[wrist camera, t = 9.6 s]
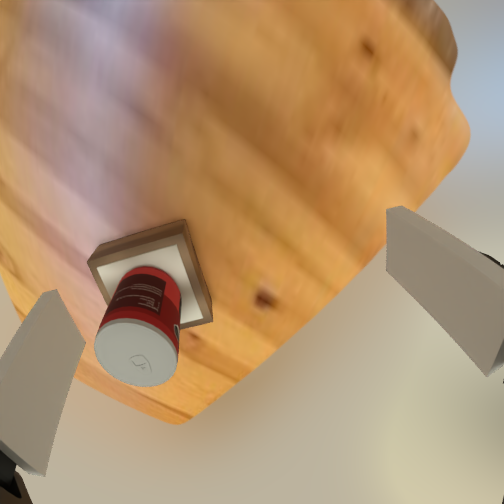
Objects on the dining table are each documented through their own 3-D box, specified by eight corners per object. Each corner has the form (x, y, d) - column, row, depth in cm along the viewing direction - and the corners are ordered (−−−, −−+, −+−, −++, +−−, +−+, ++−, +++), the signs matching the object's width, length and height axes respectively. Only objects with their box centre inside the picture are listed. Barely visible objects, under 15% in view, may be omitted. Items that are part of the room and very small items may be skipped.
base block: (98, 245, 36) (86, 262, 32) (184, 219, 37) (182, 233, 32) (132, 319, 42) (126, 342, 37) (211, 300, 42) (213, 322, 37)
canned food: (151, 331, 37) (140, 397, 27) (105, 289, 33) (77, 349, 23) (196, 299, 36) (196, 364, 26) (149, 250, 32) (128, 306, 22)
